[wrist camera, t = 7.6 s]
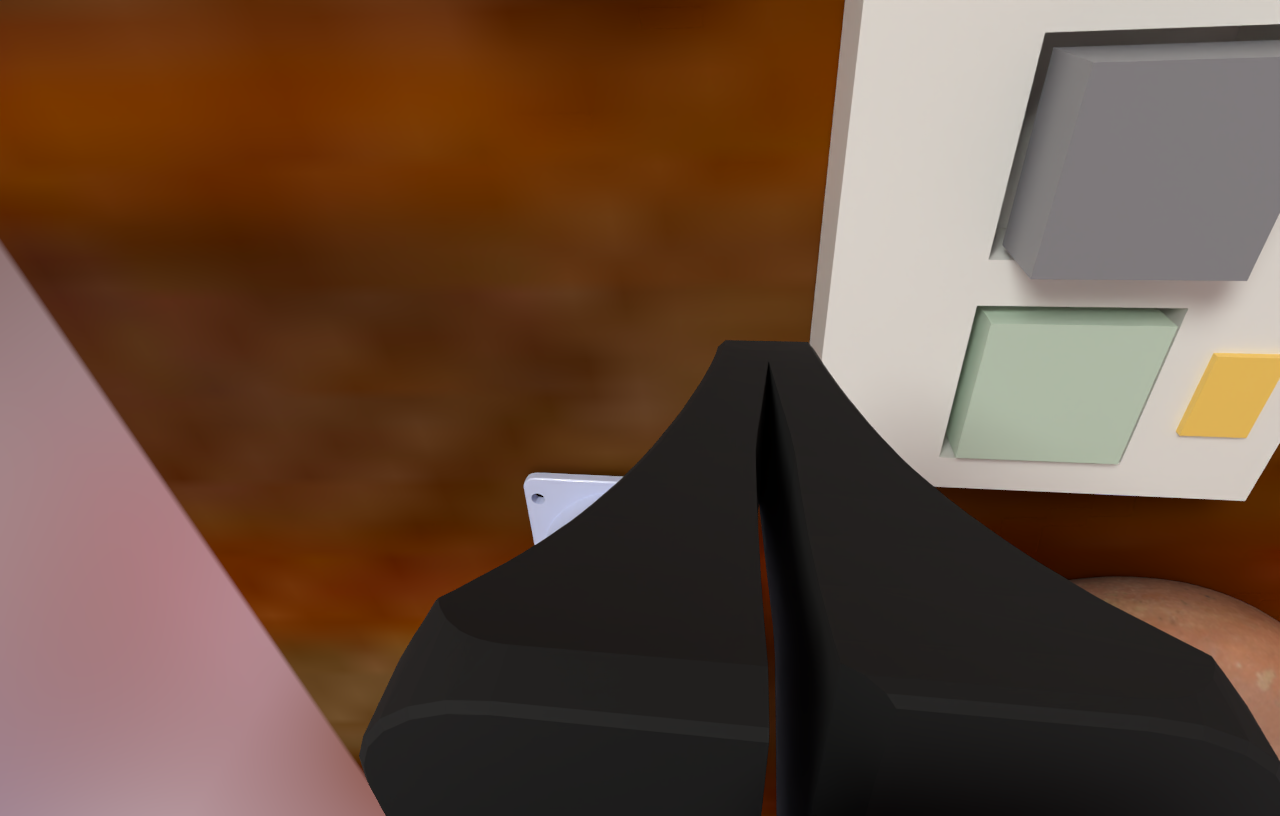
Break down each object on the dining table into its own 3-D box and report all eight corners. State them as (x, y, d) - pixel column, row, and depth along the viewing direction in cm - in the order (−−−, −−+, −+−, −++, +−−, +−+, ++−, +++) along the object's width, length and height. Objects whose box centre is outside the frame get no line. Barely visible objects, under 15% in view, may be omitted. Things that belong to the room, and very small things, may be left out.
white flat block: (1189, 437, 22) (1249, 505, 19) (801, 423, 23) (808, 485, 21) (1659, -508, 11) (1938, -641, 9) (887, -415, 13) (924, -506, 10)
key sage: (1087, 421, 20) (1117, 464, 19) (939, 416, 21) (955, 457, 19) (1138, 291, 18) (1177, 326, 16) (970, 289, 19) (991, 323, 17)
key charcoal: (1195, 245, 16) (1247, 281, 14) (1002, 245, 16) (1030, 279, 15) (1282, 40, 14) (1355, 54, 12) (1053, 47, 14) (1093, 62, 12)
